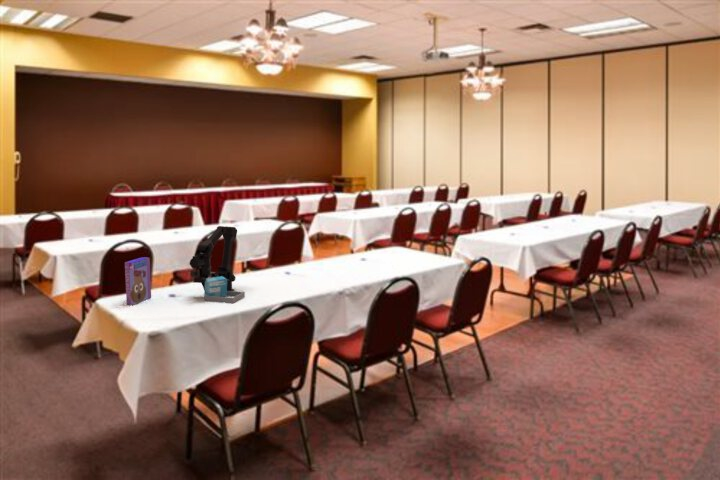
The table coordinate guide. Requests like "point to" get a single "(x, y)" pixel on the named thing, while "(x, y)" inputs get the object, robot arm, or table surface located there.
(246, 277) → the table surface
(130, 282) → the cereal box
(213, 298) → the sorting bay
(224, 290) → the data package
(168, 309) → the table surface
